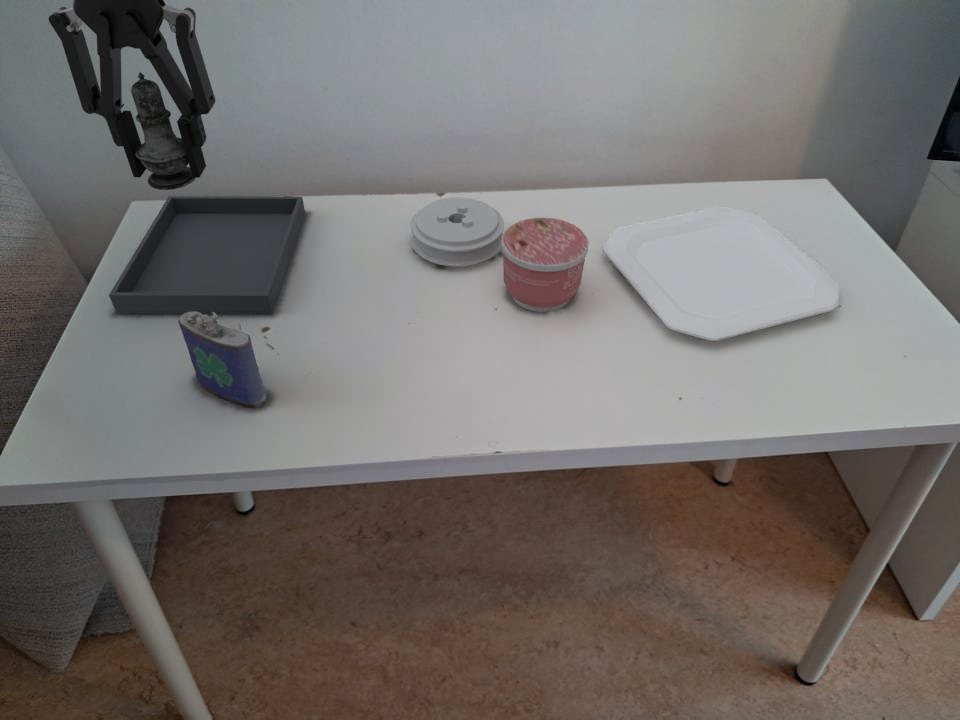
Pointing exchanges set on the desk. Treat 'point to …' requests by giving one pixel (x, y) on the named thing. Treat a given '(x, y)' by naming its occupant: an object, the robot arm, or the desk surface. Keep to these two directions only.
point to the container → (543, 262)
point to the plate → (720, 272)
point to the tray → (212, 256)
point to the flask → (223, 360)
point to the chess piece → (159, 139)
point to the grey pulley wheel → (457, 232)
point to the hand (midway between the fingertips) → (170, 171)
